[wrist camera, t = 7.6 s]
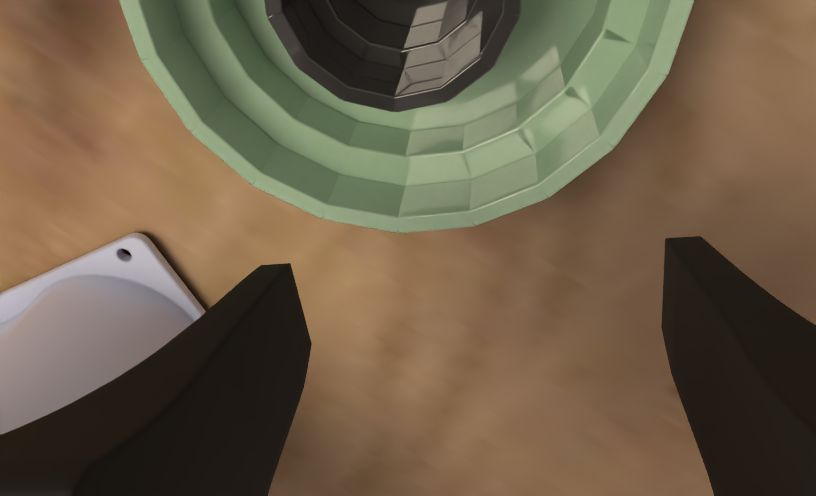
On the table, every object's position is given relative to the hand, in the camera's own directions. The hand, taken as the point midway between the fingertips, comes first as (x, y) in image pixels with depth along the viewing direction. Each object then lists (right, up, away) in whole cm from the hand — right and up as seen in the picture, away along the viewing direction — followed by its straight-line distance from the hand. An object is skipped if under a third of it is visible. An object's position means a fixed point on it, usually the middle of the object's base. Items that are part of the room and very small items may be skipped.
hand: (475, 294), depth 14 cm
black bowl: (-1, +9, +5) cm, 10 cm away
